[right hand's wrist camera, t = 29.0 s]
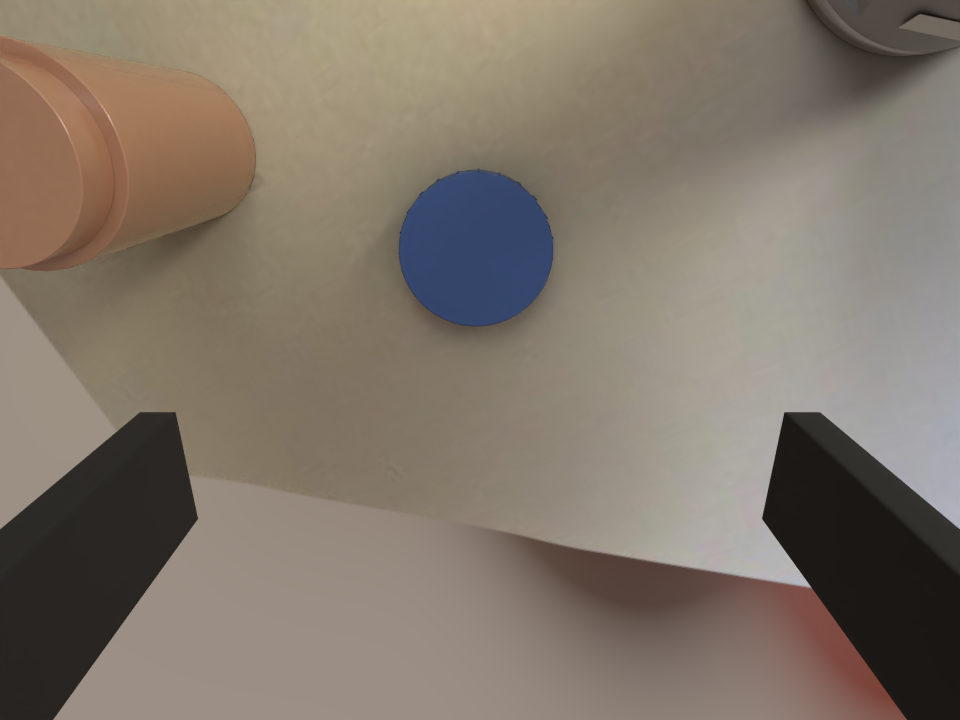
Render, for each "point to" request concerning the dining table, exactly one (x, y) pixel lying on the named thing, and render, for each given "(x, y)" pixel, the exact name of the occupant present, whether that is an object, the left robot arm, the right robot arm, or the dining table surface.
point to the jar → (109, 154)
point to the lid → (476, 248)
